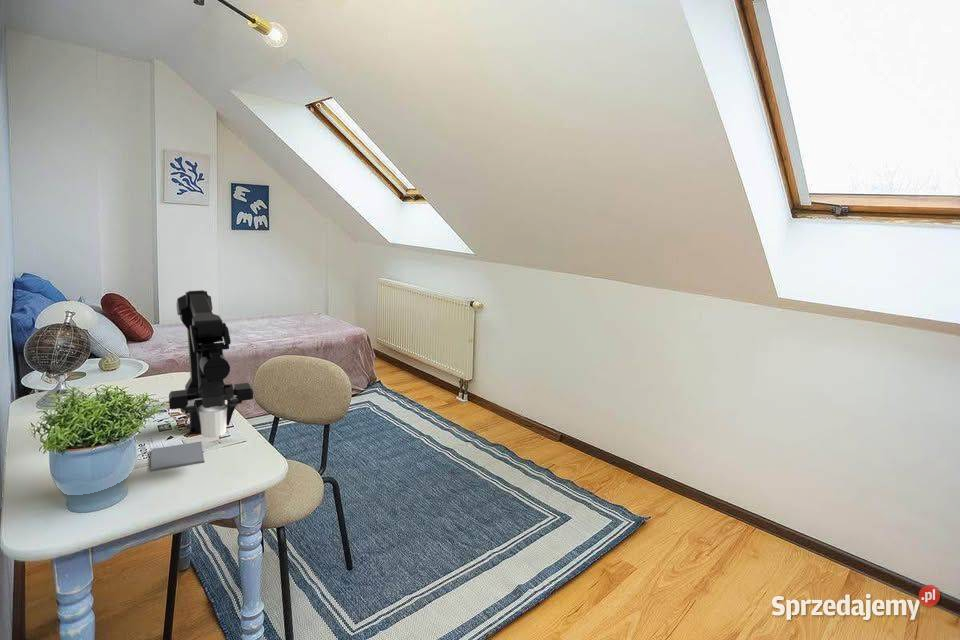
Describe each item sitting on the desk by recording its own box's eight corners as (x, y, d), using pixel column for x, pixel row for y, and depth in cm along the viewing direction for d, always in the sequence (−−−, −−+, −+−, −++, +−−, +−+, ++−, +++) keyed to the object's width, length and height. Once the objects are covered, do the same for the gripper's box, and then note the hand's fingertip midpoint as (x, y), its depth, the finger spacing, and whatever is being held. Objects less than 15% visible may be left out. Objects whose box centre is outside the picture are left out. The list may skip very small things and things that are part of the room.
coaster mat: (151, 451, 146) (151, 448, 146) (201, 443, 152) (201, 441, 152) (150, 471, 136) (150, 469, 136) (204, 462, 142) (204, 460, 142)
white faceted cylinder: (216, 440, 134) (215, 413, 133) (192, 436, 136) (190, 410, 134) (234, 429, 141) (233, 403, 139) (211, 425, 142) (209, 400, 141)
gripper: (167, 383, 123) (172, 446, 127) (255, 374, 132) (257, 433, 136) (167, 369, 132) (171, 428, 136) (249, 361, 142) (251, 416, 145)
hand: (213, 427), depth 138 cm, fingers closed on white faceted cylinder, 6 cm apart
